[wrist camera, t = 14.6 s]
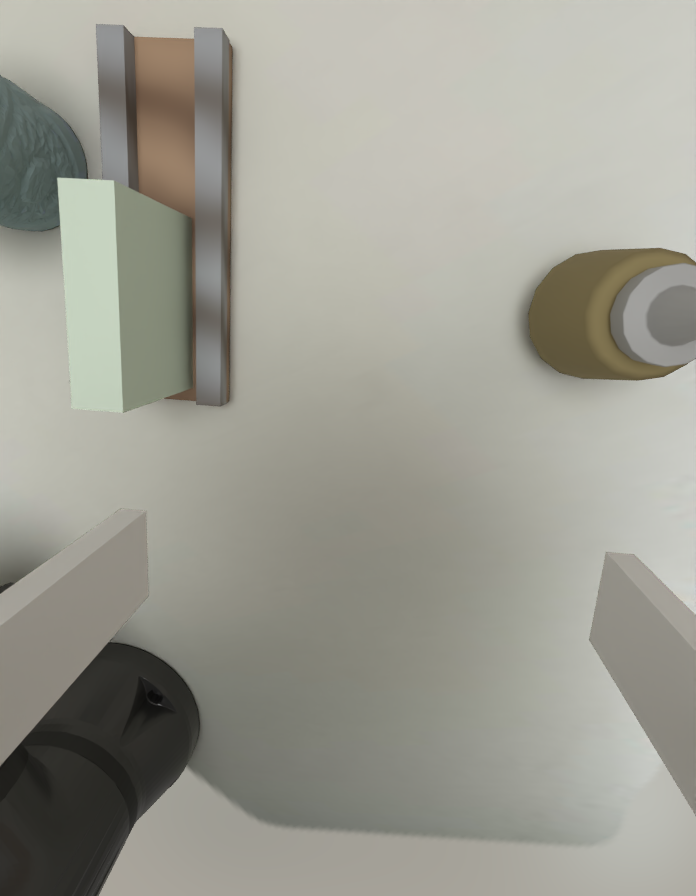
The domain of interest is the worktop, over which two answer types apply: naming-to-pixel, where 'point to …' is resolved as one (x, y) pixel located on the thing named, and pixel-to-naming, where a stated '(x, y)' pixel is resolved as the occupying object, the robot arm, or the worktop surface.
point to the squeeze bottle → (617, 314)
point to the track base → (178, 164)
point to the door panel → (125, 295)
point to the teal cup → (33, 160)
